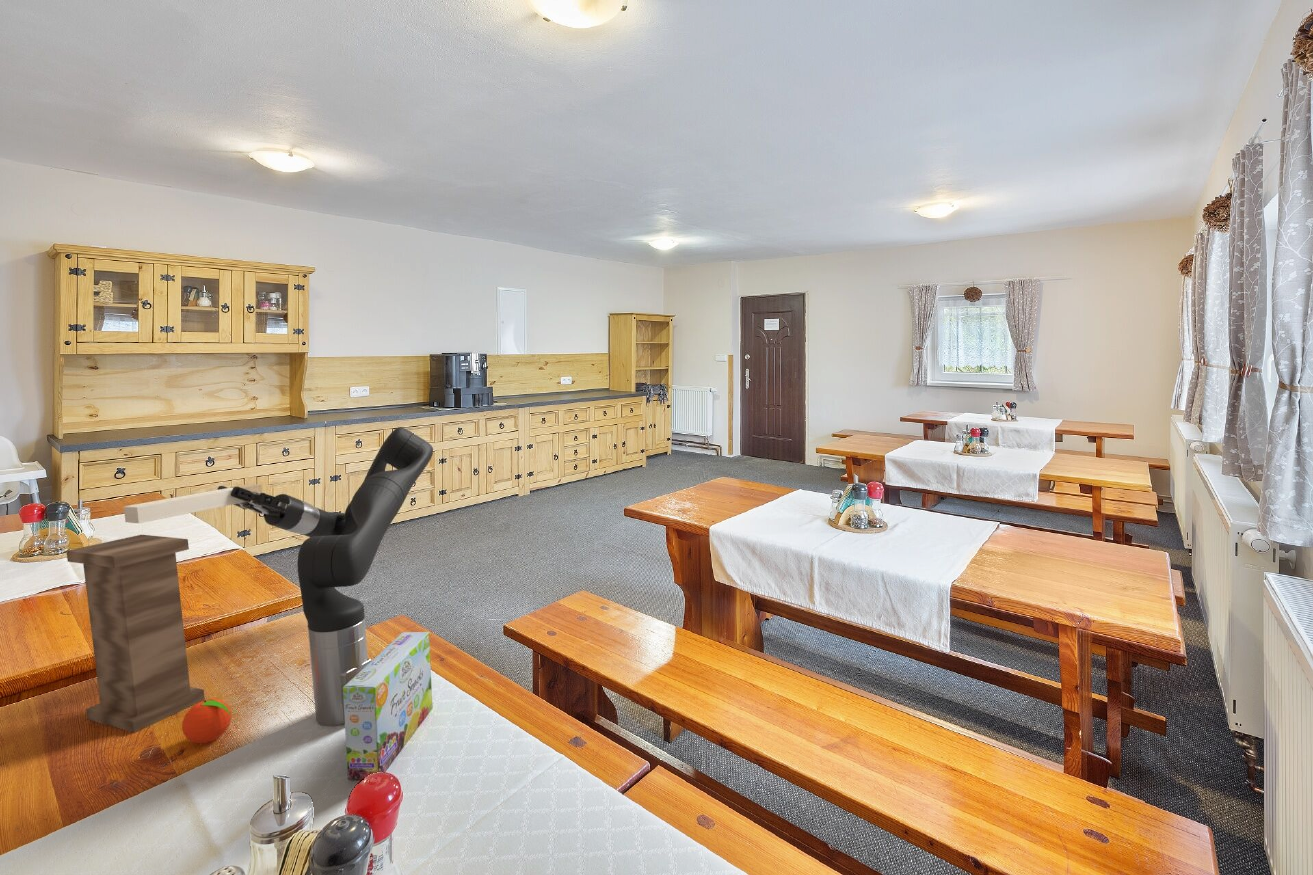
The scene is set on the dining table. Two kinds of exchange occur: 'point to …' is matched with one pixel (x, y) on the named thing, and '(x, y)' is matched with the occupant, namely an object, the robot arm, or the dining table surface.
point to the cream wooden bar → (184, 504)
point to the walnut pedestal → (136, 630)
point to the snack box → (387, 704)
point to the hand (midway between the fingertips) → (226, 490)
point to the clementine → (206, 721)
